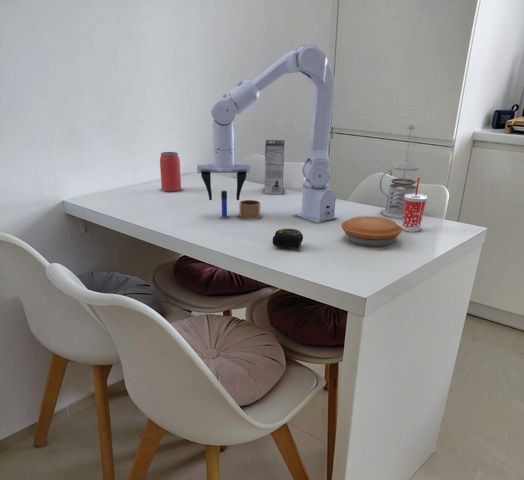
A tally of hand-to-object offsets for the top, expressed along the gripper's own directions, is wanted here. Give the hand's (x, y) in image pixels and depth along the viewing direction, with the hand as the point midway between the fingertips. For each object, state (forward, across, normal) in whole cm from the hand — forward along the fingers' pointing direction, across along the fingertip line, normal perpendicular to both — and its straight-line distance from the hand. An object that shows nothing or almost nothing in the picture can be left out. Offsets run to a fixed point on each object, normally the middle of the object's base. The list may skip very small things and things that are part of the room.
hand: (224, 199), depth 153 cm
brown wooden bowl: (+5, +7, +1) cm, 9 cm away
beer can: (+6, -18, +35) cm, 40 cm away
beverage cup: (+6, +51, -12) cm, 53 cm away
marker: (+5, 0, 0) cm, 5 cm away
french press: (+6, +52, +4) cm, 52 cm away
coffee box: (+6, +18, +34) cm, 39 cm away
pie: (+6, +37, -22) cm, 43 cm away
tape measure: (+6, +15, -27) cm, 32 cm away
